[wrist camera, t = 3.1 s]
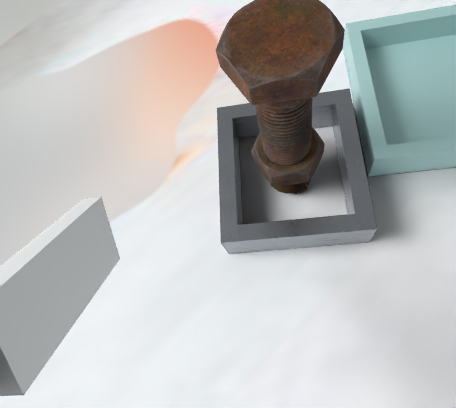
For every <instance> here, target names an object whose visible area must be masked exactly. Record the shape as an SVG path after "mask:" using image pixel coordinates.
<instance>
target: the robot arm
mask: <svg viewBox="0 0 456 408" xmlns="http://www.w3.org/2000/svg"><path fill="white" fill-rule="evenodd" d="M119 259H120V257H119V254H118V250H117V247H116V244H115V241H114V237H113V234H112V231H111V227H110V224H109V221H108V217H107V214H106V211H105V208H104V205H103V201H102V198H101V197H94V198H86V199H82V200H81V201H80V202H78V203H77V204H76V205H75V206H73V207H72V208H71V209H70V210H69V211H67V212H66V213H65V214H64V215H63V216H61V217H60V218H59V219H58V220H56V221H55V222H54V223H53V224H51V225H50V226H49V227H48V228H46V229H45V230H44V231H43V232H42V233H40V234H39V235H38V236H37V237H35V238H34V239H33V240H32V241H31V242H29V243H28V244H27V245H26V246H24V247H23V248H22V249H21V250H19V251H18V252H17V253H16V254H15V255H14V256H12V257H11V258H10V259H8V260H7V261H6V262H5V263H4V264H3V265H1V266H0V396H11V395H24V394H25V393H26V391H27V390H28V388H29V387H30V386H31V384H32V383H33V381H34V380H35V378H36V377H37V376H38V374H39V373H40V371H41V370H42V368H43V367H44V366H45V364H46V363H47V361H48V360H49V359H50V357H51V356H52V354H53V353H54V351H55V350H56V349H57V347H58V346H59V344H60V343H61V341H62V340H63V339H64V337H65V336H66V334H67V333H68V332H69V330H70V329H71V327H72V326H73V324H74V323H75V322H76V320H77V319H78V317H79V316H80V314H81V313H82V312H83V310H84V309H85V307H86V306H87V305H88V303H89V302H90V300H91V299H92V297H93V296H94V295H95V293H96V292H97V290H98V289H99V287H100V286H101V285H102V283H103V282H104V280H105V279H106V278H107V276H108V275H109V273H110V272H111V270H112V269H113V268H114V266H115V265H116V263H117V262H118V261H119Z"/></svg>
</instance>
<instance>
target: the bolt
mask: <svg viewBox="0 0 456 408" xmlns="http://www.w3.org/2000/svg"><path fill="white" fill-rule="evenodd" d="M344 31H345V30H344V28H343V27H342V25H341V24H340V22H339V21H338V19H337V18H336V16H335V15H334V14H333V13H332V12H331V10H330V9H329V8H328V7H327V6H326V5H324V4H323V3H322V2H321V1H319V0H254V1H253V2H251V3H249V4H247V5H246V6H244V7H242V8H241V9H240V10H238V11H237V12H236V13H235V14H234V15H233V16H232V18H231V19H230V20H229V22H228V23H227V25H226V27H225V29H224V31H223V33H222V35H221V37H220V40H219V43H218V46H217V48H216V53H217V57H218V60H219V64H220V67H221V68H222V69H223V71H224V72H225V73H226V74H227V76H228V77H229V78H230V79H231V80H232V82H233V83H234V84H235V85H236V87H237V88H238V89H239V90H240V91H241V93H242V94H243V95H244V96H245V97H246V99H247V100H248V101H249V102H250V104H251V105H255V107H256V115H257V120H258V125H259V129H260V134H259V135H258V137H257V139H256V141H255V143H254V146H253V148H252V151H251V153H252V157H253V160H254V162H255V163H256V165H257V166H258V168H259V169H260V171H261V172H262V173H263V175H264V176H265V177H266V178H267V180H268V181H269V182H270V184H271V186H272V187H274V188H275V189H276V190H278V191H280V192H283V193H294V194H297V193H301V192H303V191H304V190H305V189H306V188H307V186H306V185H308V184H309V182H310V178H311V177H312V175H313V174H314V172H315V170H316V168H317V166H318V164H319V162H320V159H321V157H322V155H323V152H324V142H323V141H322V139H321V138H320V136H319V135H318V133H317V132H316V131H315V130H314V128H313V127H312V101H313V97H317V95H318V93H319V91H320V89H321V88H322V86H323V84H324V82H325V80H326V78H327V77H328V75H329V73H330V71H331V69H332V67H333V65H334V64H335V62H336V60H337V58H338V56H339V54H340V52H341V51H342V49H343V40H344Z"/></svg>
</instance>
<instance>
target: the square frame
mask: <svg viewBox="0 0 456 408" xmlns="http://www.w3.org/2000/svg"><path fill="white" fill-rule="evenodd" d="M217 120H218V157H219V193H220V229H221V244H222V245H223V247H224V248H225V249H226V251H227V252H228V253H229V254H233V253H245V252H257V251H269V250H281V249H293V248H305V247H317V246H330V245H342V244H354V243H366V242H370V241H371V239H372V237H373V236H374V234H375V232H376V230H377V226H376V221H375V216H374V211H373V206H372V201H371V196H370V191H369V186H368V180H367V175H366V170H365V165H364V160H363V155H362V150H361V145H360V140H359V135H358V130H357V125H356V120H355V114H354V109H353V104H352V99H351V94H350V89H344V90H337V91H330V92H323V93H318V95H317V97H313V101H312V127H313V128H320V127H328V126H333V129H334V135H335V141H336V147H337V153H338V159H339V165H340V171H341V177H342V183H343V189H344V195H345V201H346V207H347V213H348V215H338V216H327V217H317V218H306V219H296V220H285V221H275V222H264V223H253V224H243V219H242V200H241V181H240V162H239V142H238V138H244V137H252V136H258V135H259V134H260V129H259V125H258V120H257V115H256V107H255V105H251V104H250V103H247V104H241V105H234V106H227V107H220V108H217Z"/></svg>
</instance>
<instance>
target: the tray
mask: <svg viewBox="0 0 456 408" xmlns="http://www.w3.org/2000/svg"><path fill="white" fill-rule="evenodd" d="M343 51H344V56H345V61H346V66H347V71H348V76H349V81H350V86H351V91H352V96H353V101H354V106H355V111H356V116H357V121H358V126H359V131H360V136H361V141H362V146H363V151H364V156H365V161H366V166H367V171H368V176H369V177H371V176H380V175H389V174H398V173H407V172H417V171H426V170H435V169H444V168H453V167H456V5H452V6H446V7H440V8H434V9H429V10H423V11H417V12H411V13H405V14H400V15H394V16H388V17H382V18H376V19H370V20H365V21H359V22H353V23H347V24H346V29H345V37H344V45H343Z"/></svg>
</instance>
